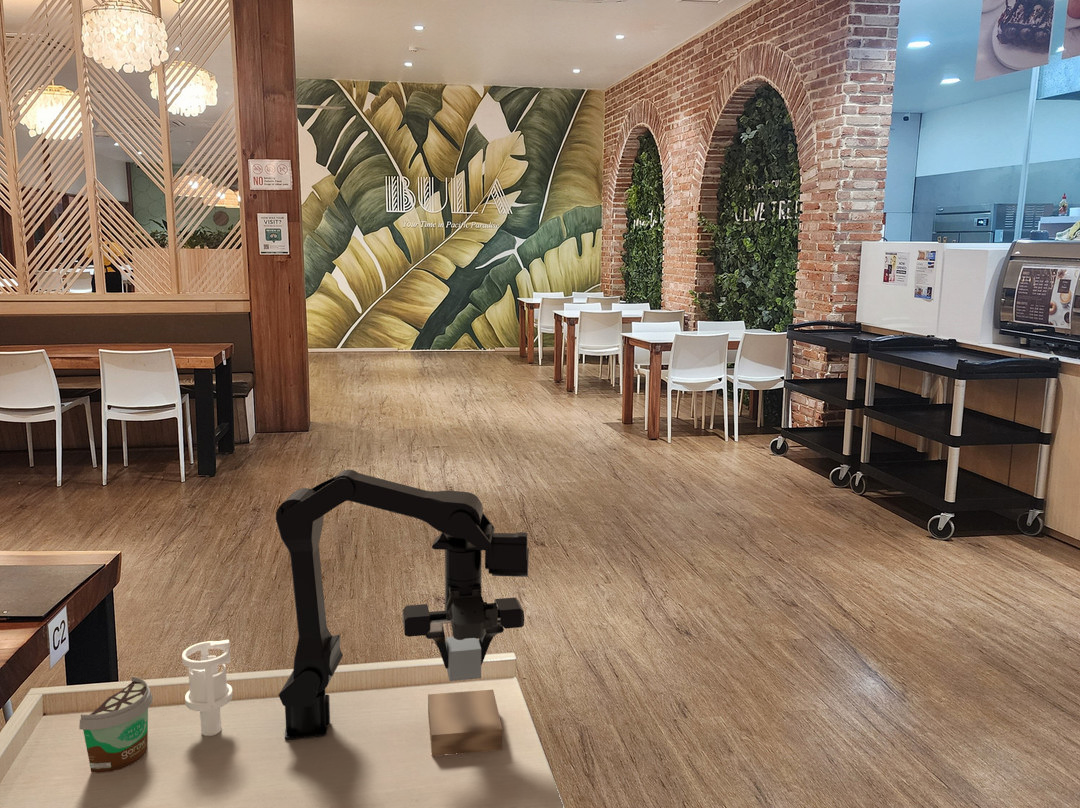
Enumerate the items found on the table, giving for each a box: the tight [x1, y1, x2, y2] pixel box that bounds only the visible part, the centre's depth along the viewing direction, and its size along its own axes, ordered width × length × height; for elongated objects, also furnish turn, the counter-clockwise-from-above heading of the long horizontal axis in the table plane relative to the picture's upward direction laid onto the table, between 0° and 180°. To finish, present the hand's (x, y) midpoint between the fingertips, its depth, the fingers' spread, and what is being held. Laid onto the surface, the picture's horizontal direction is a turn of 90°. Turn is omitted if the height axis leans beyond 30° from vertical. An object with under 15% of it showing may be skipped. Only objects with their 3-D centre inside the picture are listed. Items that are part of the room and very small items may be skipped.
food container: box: [78, 676, 153, 774], centre depth 130 cm, size 12×6×10 cm, turn 168°
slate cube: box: [445, 636, 482, 682], centre depth 136 cm, size 5×5×5 cm
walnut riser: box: [427, 689, 503, 757], centre depth 138 cm, size 11×12×4 cm
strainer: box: [181, 639, 234, 737], centre depth 136 cm, size 7×7×15 cm
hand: (463, 665), depth 136 cm, fingers closed on slate cube, 5 cm apart
